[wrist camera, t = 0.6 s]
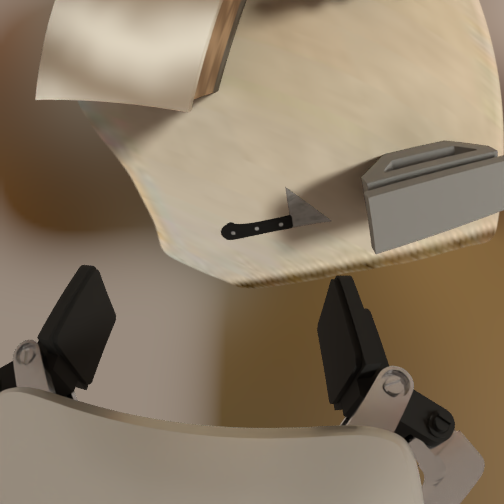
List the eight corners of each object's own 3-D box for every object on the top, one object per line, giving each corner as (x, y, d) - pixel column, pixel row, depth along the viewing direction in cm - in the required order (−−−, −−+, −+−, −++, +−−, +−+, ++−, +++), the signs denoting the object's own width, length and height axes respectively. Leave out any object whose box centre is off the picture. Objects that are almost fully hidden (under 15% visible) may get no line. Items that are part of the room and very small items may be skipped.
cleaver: (208, 185, 39) (224, 243, 45) (207, 186, 39) (224, 244, 44) (402, 158, 36) (400, 216, 41) (404, 159, 35) (401, 217, 41)
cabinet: (158, -33, 19) (91, -87, 4) (259, -23, 21) (263, -98, 6) (124, 81, 29) (31, 100, 14) (221, 95, 31) (187, 112, 16)
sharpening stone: (472, 135, 32) (516, 158, 23) (473, 177, 36) (512, 206, 27) (341, 165, 37) (368, 197, 28) (351, 212, 41) (375, 254, 32)
